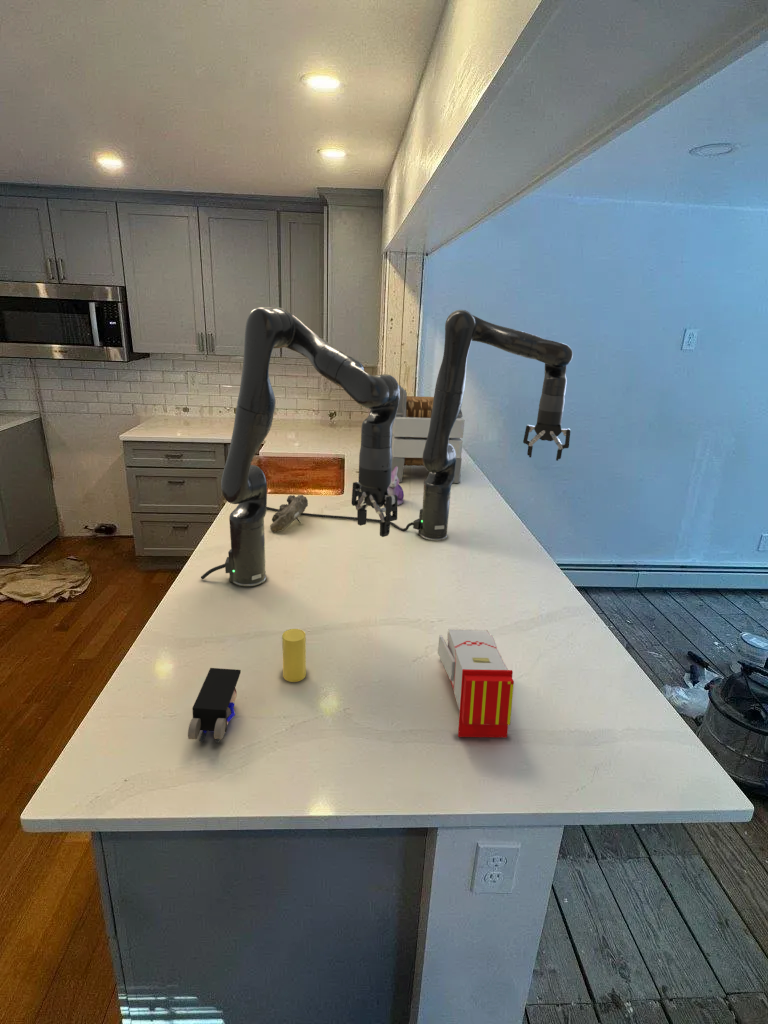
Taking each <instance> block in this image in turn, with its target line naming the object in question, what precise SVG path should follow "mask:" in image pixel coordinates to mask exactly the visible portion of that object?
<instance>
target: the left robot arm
mask: <svg viewBox="0 0 768 1024" xmlns="http://www.w3.org/2000/svg"><path fill="white" fill-rule="evenodd" d="M243 344H244V345H243V363H242V371H241V379H240V384H239V392H238V397H237V402H236V408H235V415H234V422H233V428H232V433H231V434H232V435H231V440H230V445H229V448H228V449H229V450H228V453H227V458H226V461H225V464H224V468H223V471H222V475H221V479H220V488H221V489H220V490H221V493H222V496H223V498H224V499H225V500H226V502H228V503H230V504H232V505H237V506H236V507H235V508H234V509H233V510H232V511H231V513H230V514H229V534H230V535H229V536H230V549H229V550H228V556H226V559H225V561H224V563H223V564H220V565H217V566H215V567H213V568H210V569H209V570H207V571H206V572H205V573H203V574H202V575H201V576H200V579H201V580H205V579H206V578H207V577H208V576H209V575H211V574H212V573H214V572H216V571H219V570H221V569H225V570H224V571H225V574H229V582H230V583H232V584H234V585H236V586H239V587H255V586H259V585H262V584H264V583H265V581H266V580H267V574H266V573H267V572H266V571H267V570H266V550H265V549H266V544H265V542H266V541H265V517H266V515H267V507H268V505H267V503H268V483H267V478H266V475H265V473H264V471H263V470H262V468H261V467H259V466H258V465H256V464H252V462H253V459H254V457H255V455H256V453H257V452H258V450H259V449H260V447H261V446H262V444H263V443H264V441H265V440H266V438H267V436H268V435H269V432H270V431H271V428H272V425H273V421H274V414H275V411H276V410H275V409H276V397H275V392H274V388H273V385H272V383H271V379H270V373H269V371H270V363H271V356H272V353H273V350H274V349H283V348H285V349H288V350H291V351H293V352H296V353H298V354H300V355H301V356H303V357H305V358H306V359H307V360H308V362H309V363H310V365H312V367H313V369H314V370H315V371H316V372H318V374H320V375H321V376H322V377H323V378H325V379H326V380H328V381H330V382H331V383H333V384H334V385H336V386H338V387H339V388H342V390H344V391H345V393H346V394H347V395H348V396H349V397H350V398H351V399H352V400H353V401H354V402H355V403H357V404H358V405H360V406H361V407H363V408H366V409H369V415H368V416H367V417H366V418H365V419H364V420H363V421H362V422H361V427H360V428H361V429H360V449H359V455H358V481H355V482H353V483H352V491H351V505H352V507H353V506H354V507H355V510H356V511H357V512H356V513H357V514H356V517H357V520H356V521H357V525H358V526H364V525H367V521H366V519H367V518H368V517H367V516H368V515H367V514H368V510H367V509H368V507H371V508H372V509H374V511H375V513H376V514H377V515H378V517H379V520H381V522H379V536H380V537H381V538H384V537H388V536H389V535H390V531H391V529H390V528H391V525H390V522H393V521H397V520H398V505H397V499H398V498H397V495H389V494H388V490H387V489H388V487H389V485H390V484H391V472H392V427H393V423H394V420H395V417H396V413H397V409H398V404H399V399H400V390H399V383H398V381H397V379H396V377H394V376H392V375H390V374H386V373H383V374H375V375H373V374H370V373H368V372H366V371H365V369H364V366H363V364H362V363H361V362H360V361H359V360H358V359H356V358H354V357H353V356H352V355H349V354H348V353H346V352H344V351H342V350H341V349H340V348H338V347H336V346H335V345H333V344H331V343H329V342H328V341H327V340H325V339H324V338H322V337H321V336H319V335H318V334H317V333H316V332H314V331H313V330H311V328H309V326H307V325H306V324H305V323H304V322H303V321H301V320H300V319H299V318H298V317H297V316H296V315H294V314H293V312H291V311H289V310H288V309H286V308H283V307H276V306H275V307H273V306H259V307H256V308H254V309H252V310H251V311H250V313H249V314H248V317H247V318H246V323H245V329H244V343H243ZM384 513H385V515H384Z"/></svg>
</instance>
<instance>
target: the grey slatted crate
mask: <svg viewBox="0 0 768 1024" xmlns="http://www.w3.org/2000/svg"><path fill="white" fill-rule="evenodd" d="M398 385H399V384H398ZM399 390H400V399H399V404H398V409H397V413H396V417H395V420H394V423H393V427H392V471H393V470H394V468H395V467H396V466H397V467H398V472H397V477H398V479H399V483H402V482H403V475H404V469H405V466H406V467H407V466H411V467H412V466H413V467H415V466H416V467H417V466H418V467H424V464H423V460H422V457H423V451H424V447H425V444H426V440H427V436H428V432H429V427H430V420H431V413H432V407H433V399H434V396H415V395H414V396H413V395H412V396H411V395H407V394H408V393H407V390H406V389H404V388H403V387H402V385H399ZM464 429H465V419H464V418H463V411H462V408H461V409H460V412H459V414H458V416H457V419H456V421H455V423H454V425H453V427H452V429H451V432H450V436H449V442H448V443H449V444H451V445H452V446H453V448H454V449H455V452H456V466H455V474H454V480H453V483H452V484H455V483H456V484H459V483H461V472H462V461H463V460H462V453H463V442H464V441H463V440H462V439H463V438H464V431H465V430H464Z"/></svg>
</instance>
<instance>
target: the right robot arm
mask: <svg viewBox="0 0 768 1024" xmlns="http://www.w3.org/2000/svg"><path fill="white" fill-rule="evenodd" d="M472 342H477V343H482V344H486V345H488V346H492V347H495V348H497V349H499V350H502V351H504V352H507V353H510V354H513V355H515V356H520V357H522V358H526V359H529V360H534V361H538V362H541V363H543V364H544V376H543V384H542V388H541V396H540V397H539V398H540V399H539V403H538V411H537V418H536V424H535V425H532V424H526V426H525V431H524V434H523V435H524V436H523V441H522V443H523V444H524V445H527V452H526V454H527V455H526V456H528V458H532V457H533V450H534V449H533V448H534V444H535V443H537V442H538V441H539V440H541V441H548V442H553V441H554V443H555V445H556V446H557V450H556V457H555V461H559V460H561V459H562V454H563V450H564V449H569V448H570V439H571V429H570V428H569V427H568V428H562V422H563V415H564V409H565V398H566V392H567V391H566V390H567V385H568V384H567V382H568V380H567V379H568V378H567V375H566V374H567V367H568V365H569V364H571V362H572V360H573V356H574V352H573V349H572V348H571V346H569V345H568V344H566V343H563V342H559V341H555V340H551V339H546V338H543V337H541V336H539V335H537V334H533V333H529V332H527V331H522V330H518V329H514V328H510V327H506V326H501V325H498V324H495V323H492V322H489V321H487V320H484V319H482V318H480V317H478V316H475V315H474V314H472V313H471V312H470V311H468V310H466V309H456V310H454V311H452V312H451V313H450V314H449V315H448V316H447V318H446V320H445V323H444V345H443V346H444V347H443V356H442V359H441V360H442V361H441V363H440V364H441V365H440V367H439V370H438V374H437V377H436V383H435V388H434V392H433V397H434V399H433V407H432V413H431V420H430V427H429V432H428V436H427V440H426V444H425V447H424V451H423V457H422V460H423V464H424V466H423V467H424V468H425V470H426V471H427V472H428V474H427V477H426V478H425V480H424V482H423V493H422V496H423V497H422V506H421V508H420V509H419V516H418V518H416V519H415V520H413V521H412V522H409V523H407V524H406V527H404V528H401V527H400V526H398V525H397V524H396V523H395V522H393V521H390V526H392V527H394V528H395V529H397V530H399V531H401V532H406V531H408V530H409V529H410V527H411V526H412V529H414V530H417V535H418V536H420V538H421V539H424V540H426V541H432V542H440V541H444V540H446V539H447V538H448V525H449V517H450V516H449V514H450V504H451V494H452V493H451V491H452V485H453V484H454V483H453V480H454V474H455V466H456V452H455V449H454V448H453V446H452V445H451V444H449V443H448V442H449V436H450V432H451V429H452V427H453V425H454V423H455V421H456V419H457V416H458V414H459V412H460V409H461V410H462V405H463V400H464V394H465V389H466V388H465V387H466V377H467V362H468V356H469V352H470V347H471V344H472ZM533 430H534V432H535V433H536V434H535V435H534V436H533V438H531V439H529V435H530V433H532V432H533ZM561 434H563V435H562V436H563V437H565V441H564V443H562V442H561V440H560V438H559V435H561ZM267 510H268V511H271V512H276V513H277V512H279V508H274V507H270V506H267V509H266V511H267ZM300 516H305V517H316V518H326V519H340V520H351V521H352V520H353V521H357V516H346V515H333V514H332V515H331V514H330V515H329V514H321V513H307V512H303V513H301V514H300ZM366 522H371V523H372V522H373V523H380V522H381V519H376V518H368V517H367V519H366Z"/></svg>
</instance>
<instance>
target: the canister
mask: <svg viewBox="0 0 768 1024" xmlns="http://www.w3.org/2000/svg"><path fill="white" fill-rule="evenodd" d="M306 636H307V633H306V632H305V631H304V630H303V629H301V628H290V629H286V630H285V631H284V632H283V633H282V636H281V641H282V677H283V679H284V680H285V681H286V682H290V683H296V682H300V681H302V680H304V679H305V678H306V675H307V646H306V645H307V643H306V642H307V641H306V640H307V637H306Z"/></svg>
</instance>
